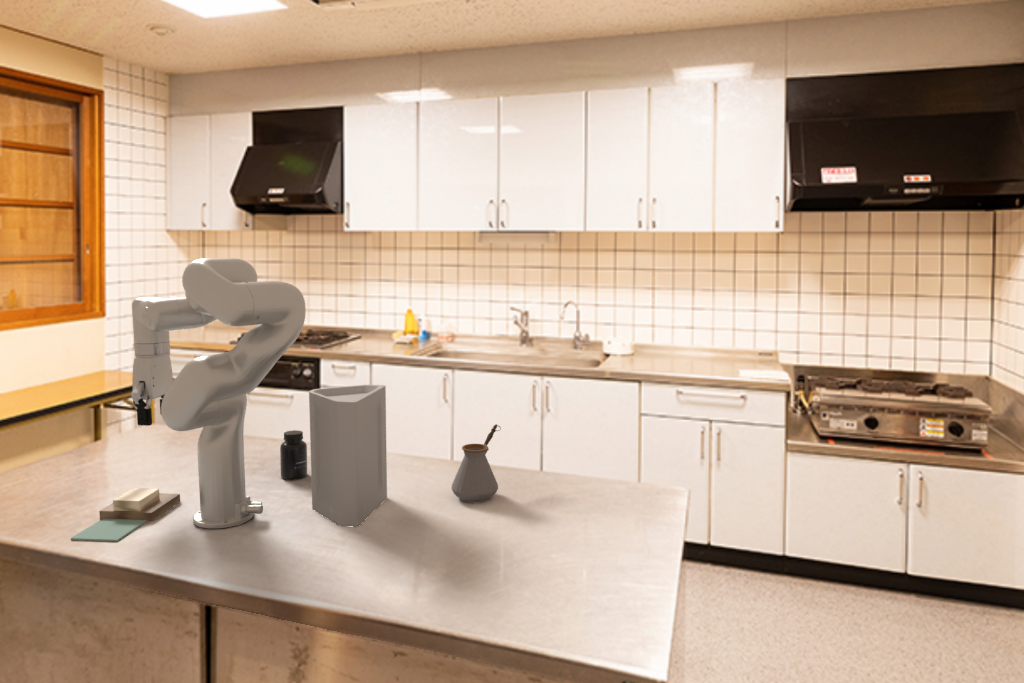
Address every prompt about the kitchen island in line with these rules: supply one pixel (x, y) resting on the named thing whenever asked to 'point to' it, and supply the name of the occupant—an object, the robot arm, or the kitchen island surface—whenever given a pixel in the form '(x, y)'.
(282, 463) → the supplement bottle
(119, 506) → the birch tile
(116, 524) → the rubber mat
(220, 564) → the kitchen island surface
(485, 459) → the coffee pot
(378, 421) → the grey triangular vase
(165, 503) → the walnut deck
